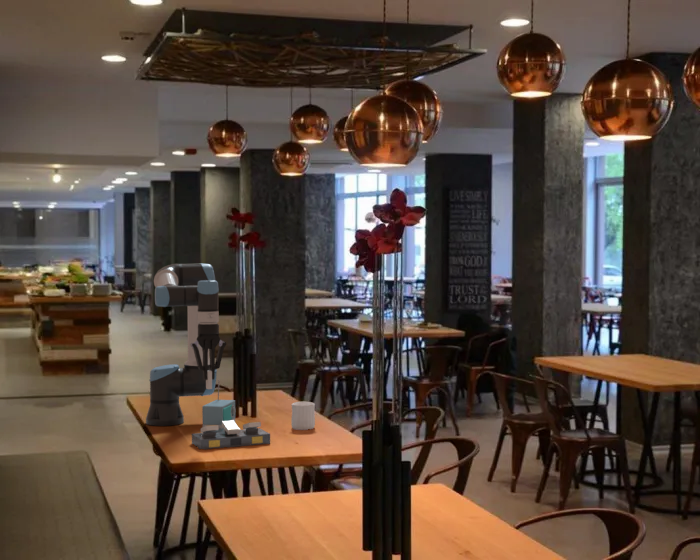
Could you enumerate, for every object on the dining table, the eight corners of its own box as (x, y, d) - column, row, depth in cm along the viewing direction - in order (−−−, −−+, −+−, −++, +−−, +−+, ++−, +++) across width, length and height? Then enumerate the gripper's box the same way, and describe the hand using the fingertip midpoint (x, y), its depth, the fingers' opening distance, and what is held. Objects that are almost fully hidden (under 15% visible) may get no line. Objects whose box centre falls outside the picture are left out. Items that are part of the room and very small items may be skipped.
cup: (296, 431, 391) (296, 406, 391) (287, 426, 400) (287, 402, 400) (318, 429, 395) (318, 404, 395) (309, 425, 404) (309, 400, 404)
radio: (225, 438, 377) (224, 385, 377) (202, 437, 379) (201, 384, 378) (238, 430, 393) (237, 379, 392) (216, 429, 395) (215, 379, 394)
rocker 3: (243, 429, 373) (242, 424, 373) (254, 428, 374) (254, 423, 375) (249, 427, 365) (249, 422, 366) (261, 426, 367) (260, 421, 367)
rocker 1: (200, 432, 366) (200, 427, 366) (212, 431, 368) (212, 426, 368) (206, 430, 359) (206, 425, 359) (218, 429, 361) (218, 424, 361)
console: (191, 443, 367) (191, 430, 367) (259, 437, 378) (259, 424, 378) (200, 449, 356) (200, 436, 356) (270, 443, 367) (270, 430, 366)
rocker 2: (221, 425, 370) (222, 420, 369) (233, 424, 371) (233, 419, 371) (228, 434, 363) (228, 429, 362) (239, 433, 364) (240, 429, 364)
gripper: (193, 324, 356) (194, 391, 357) (228, 323, 361) (229, 388, 362) (187, 323, 363) (188, 388, 363) (222, 322, 368) (223, 386, 369)
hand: (209, 388), depth 363 cm, fingers closed
